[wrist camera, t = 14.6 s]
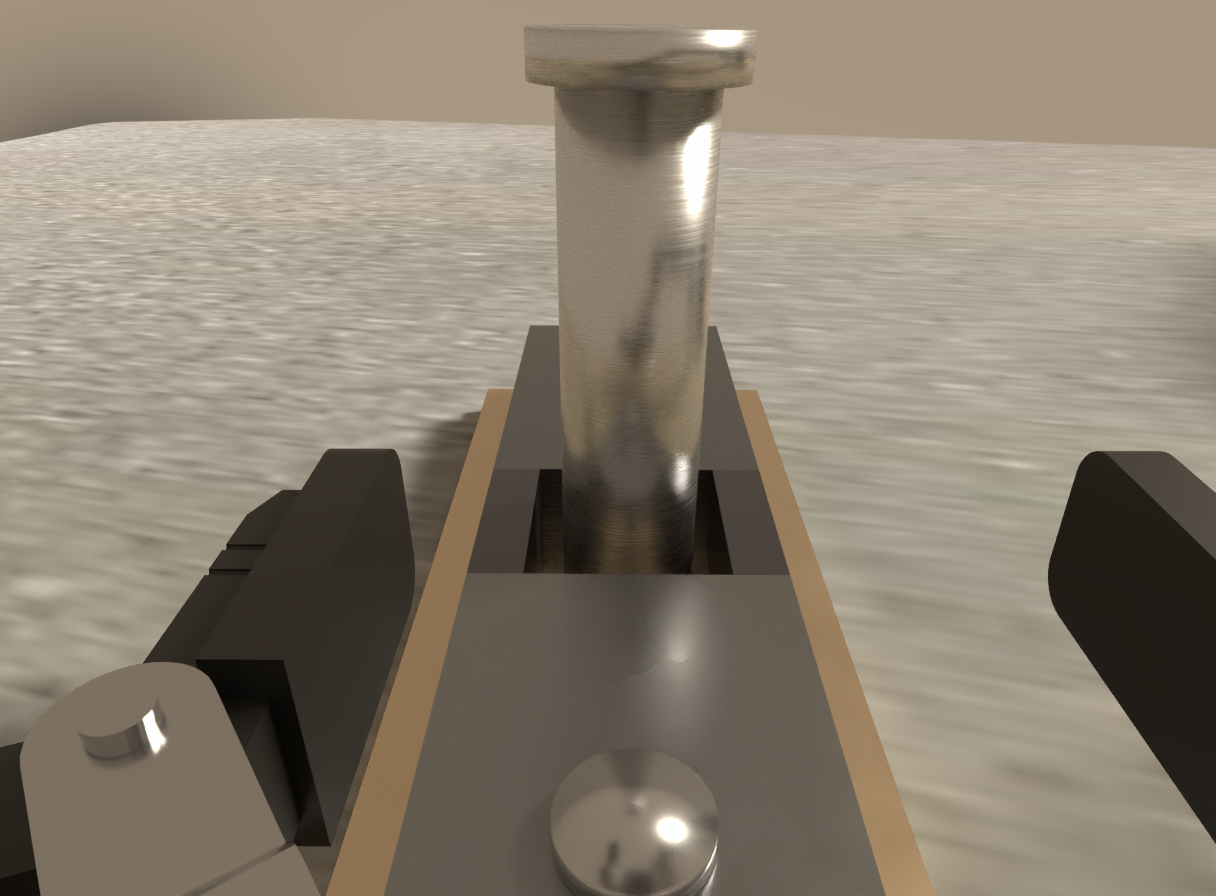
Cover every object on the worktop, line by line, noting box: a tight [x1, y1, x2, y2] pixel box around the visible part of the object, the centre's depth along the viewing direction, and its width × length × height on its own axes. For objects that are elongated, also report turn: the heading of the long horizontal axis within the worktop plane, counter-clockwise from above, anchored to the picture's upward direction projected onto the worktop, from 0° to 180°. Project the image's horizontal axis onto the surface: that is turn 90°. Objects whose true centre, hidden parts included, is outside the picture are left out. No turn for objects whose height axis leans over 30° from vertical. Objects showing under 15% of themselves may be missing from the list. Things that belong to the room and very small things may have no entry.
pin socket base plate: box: [326, 326, 935, 896], centre depth 24 cm, size 30×12×5 cm, turn 0°
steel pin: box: [524, 24, 758, 575], centre depth 21 cm, size 5×5×15 cm
